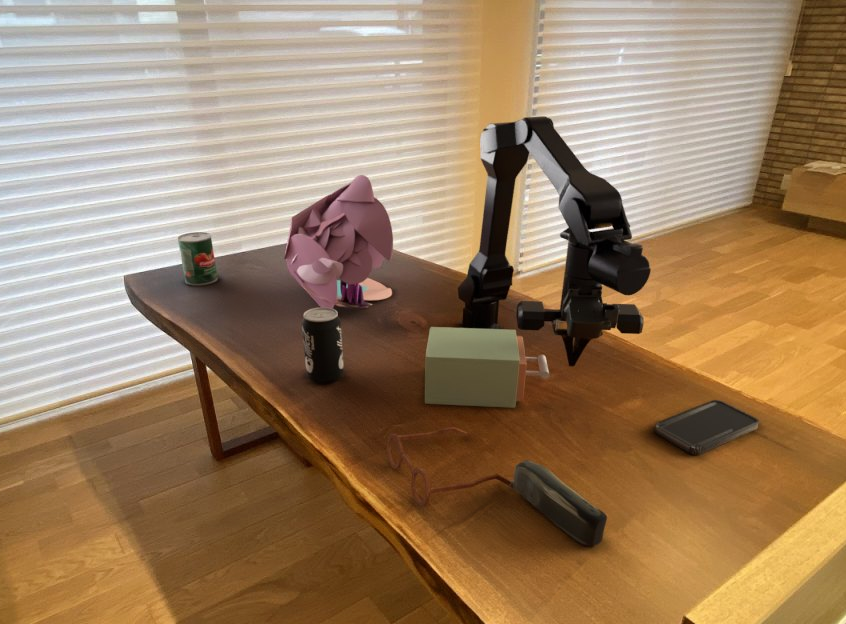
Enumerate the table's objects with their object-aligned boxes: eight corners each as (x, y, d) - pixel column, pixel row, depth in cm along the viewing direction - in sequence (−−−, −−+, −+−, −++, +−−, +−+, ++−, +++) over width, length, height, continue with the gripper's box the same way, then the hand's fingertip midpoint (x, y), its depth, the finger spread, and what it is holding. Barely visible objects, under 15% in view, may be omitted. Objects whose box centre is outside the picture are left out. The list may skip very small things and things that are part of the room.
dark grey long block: (612, 511, 70) (519, 447, 81) (595, 522, 69) (502, 455, 79) (605, 543, 73) (515, 476, 83) (588, 554, 71) (499, 485, 82)
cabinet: (511, 373, 109) (515, 329, 105) (515, 407, 99) (519, 360, 95) (429, 370, 111) (430, 326, 106) (424, 403, 101) (425, 356, 96)
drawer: (542, 372, 108) (546, 337, 104) (548, 402, 99) (552, 365, 95) (442, 368, 109) (443, 333, 106) (439, 397, 100) (440, 360, 97)
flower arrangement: (420, 325, 140) (450, 201, 127) (333, 334, 125) (357, 194, 113) (338, 271, 163) (357, 160, 150) (256, 272, 148) (270, 150, 135)
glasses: (385, 458, 88) (383, 429, 85) (466, 434, 92) (466, 406, 89) (424, 515, 77) (423, 484, 74) (513, 486, 81) (515, 455, 79)
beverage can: (337, 387, 106) (333, 322, 100) (301, 383, 107) (295, 319, 101) (348, 369, 111) (344, 307, 105) (313, 366, 112) (308, 305, 107)
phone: (651, 424, 92) (717, 398, 99) (650, 430, 93) (715, 404, 99) (697, 450, 86) (763, 421, 93) (695, 457, 87) (761, 427, 93)
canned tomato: (213, 285, 150) (205, 241, 145) (180, 285, 150) (172, 241, 145) (221, 274, 157) (214, 231, 152) (191, 274, 157) (183, 232, 152)
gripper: (524, 290, 87) (515, 386, 94) (661, 294, 85) (641, 392, 92) (520, 265, 97) (512, 354, 104) (643, 268, 95) (626, 359, 102)
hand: (571, 365), depth 100 cm, fingers closed
